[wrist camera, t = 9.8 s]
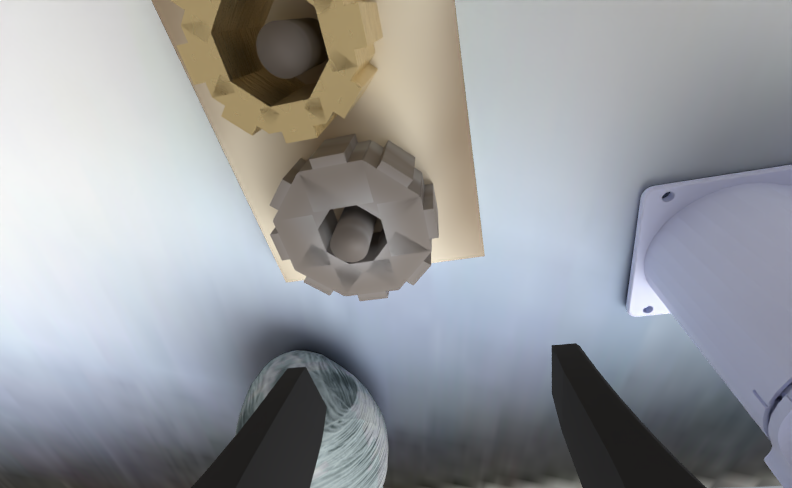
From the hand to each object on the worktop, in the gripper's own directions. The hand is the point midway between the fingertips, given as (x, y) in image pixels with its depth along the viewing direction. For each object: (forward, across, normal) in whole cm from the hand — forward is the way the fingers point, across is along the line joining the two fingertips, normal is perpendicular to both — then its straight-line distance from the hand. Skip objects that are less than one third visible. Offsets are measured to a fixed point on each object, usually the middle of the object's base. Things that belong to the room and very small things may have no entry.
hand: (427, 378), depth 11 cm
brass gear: (+9, +3, -9) cm, 13 cm away
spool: (+10, +10, +14) cm, 20 cm away
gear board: (+10, +3, -5) cm, 11 cm away
